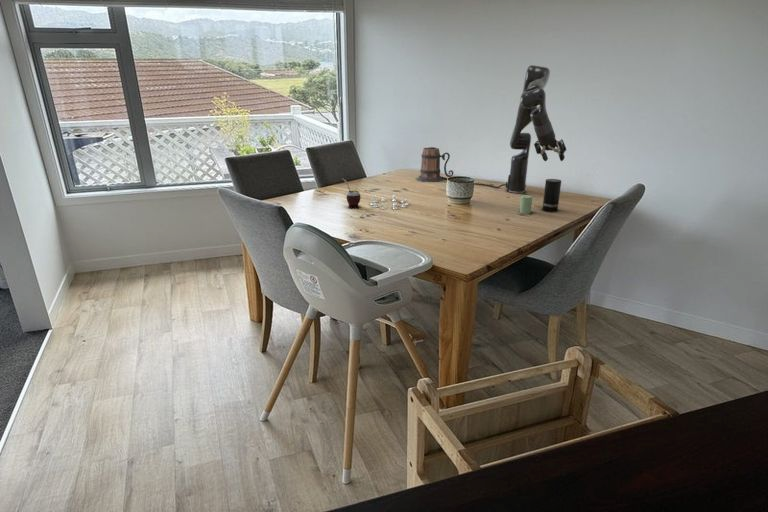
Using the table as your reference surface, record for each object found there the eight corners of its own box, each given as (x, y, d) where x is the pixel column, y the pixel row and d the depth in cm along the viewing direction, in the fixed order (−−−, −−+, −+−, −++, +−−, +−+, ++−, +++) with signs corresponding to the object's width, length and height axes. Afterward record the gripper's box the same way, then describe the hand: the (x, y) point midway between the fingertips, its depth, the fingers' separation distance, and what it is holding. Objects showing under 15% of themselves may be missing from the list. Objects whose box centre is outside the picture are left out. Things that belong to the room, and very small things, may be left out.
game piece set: (384, 198, 259) (384, 191, 258) (415, 203, 248) (415, 196, 247) (362, 205, 244) (362, 198, 243) (394, 211, 233) (394, 203, 232)
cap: (517, 212, 231) (519, 196, 228) (522, 210, 235) (523, 194, 232) (528, 214, 228) (529, 198, 225) (532, 212, 232) (534, 196, 229)
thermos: (539, 210, 235) (543, 180, 230) (545, 207, 241) (548, 178, 236) (554, 212, 231) (558, 182, 226) (559, 209, 237) (563, 179, 231)
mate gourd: (363, 207, 241) (363, 177, 235) (352, 210, 235) (351, 179, 230) (353, 204, 245) (352, 175, 240) (342, 207, 240) (341, 177, 235)
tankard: (414, 180, 304) (414, 149, 297) (420, 176, 319) (421, 146, 312) (450, 183, 297) (452, 151, 290) (455, 178, 312) (456, 147, 305)
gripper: (562, 124, 211) (572, 155, 219) (534, 126, 222) (545, 155, 230) (554, 134, 208) (564, 164, 217) (526, 136, 219) (537, 165, 228)
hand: (554, 160), depth 224 cm, fingers open, 8 cm apart
